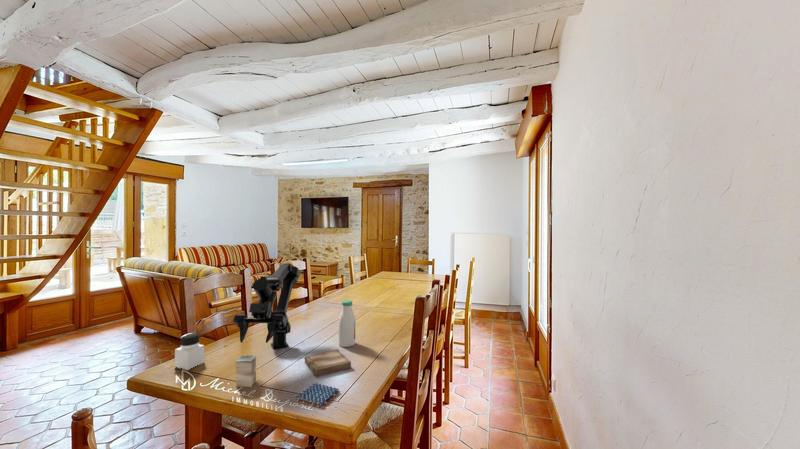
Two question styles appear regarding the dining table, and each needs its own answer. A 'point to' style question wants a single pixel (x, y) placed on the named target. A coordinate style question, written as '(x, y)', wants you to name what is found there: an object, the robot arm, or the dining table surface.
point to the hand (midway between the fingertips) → (253, 342)
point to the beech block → (245, 371)
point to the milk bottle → (346, 325)
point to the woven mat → (318, 395)
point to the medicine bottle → (189, 352)
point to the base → (327, 363)
